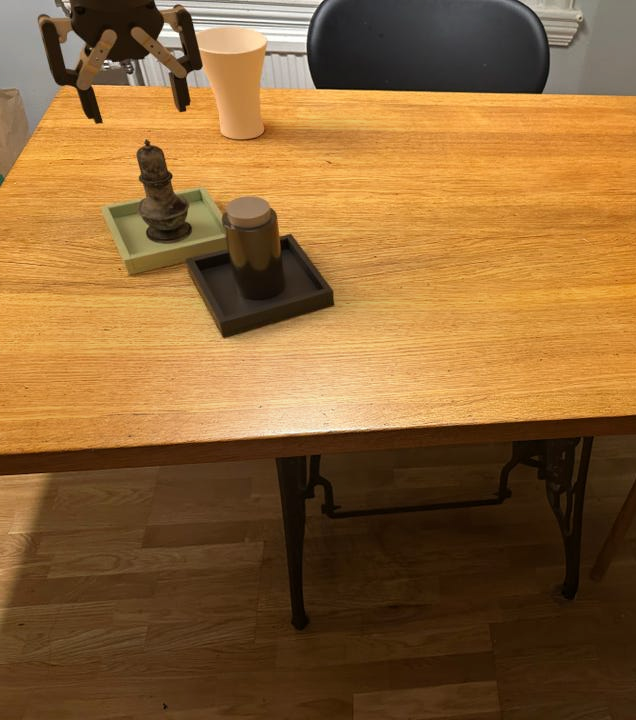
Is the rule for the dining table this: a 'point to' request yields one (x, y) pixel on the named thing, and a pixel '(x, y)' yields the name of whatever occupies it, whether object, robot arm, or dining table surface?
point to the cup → (235, 77)
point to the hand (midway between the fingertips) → (140, 114)
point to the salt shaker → (161, 198)
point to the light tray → (153, 255)
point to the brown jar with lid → (254, 248)
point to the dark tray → (244, 314)
